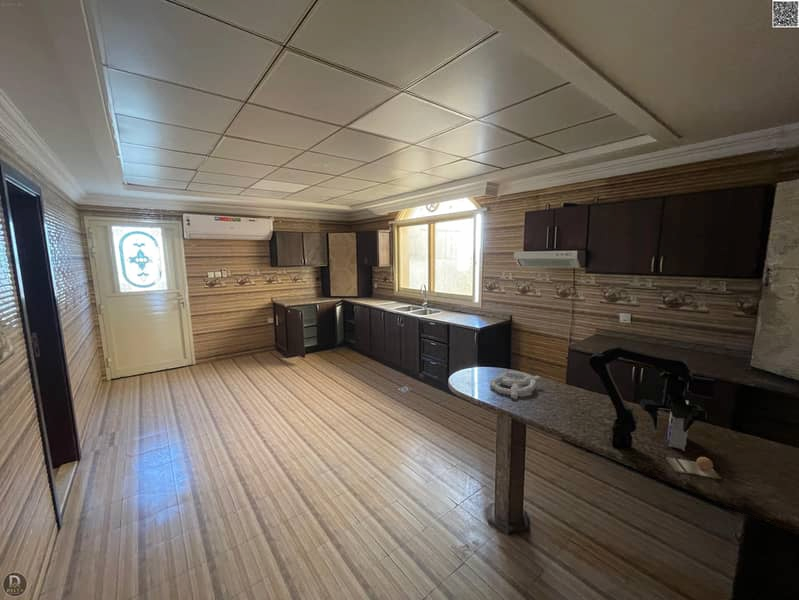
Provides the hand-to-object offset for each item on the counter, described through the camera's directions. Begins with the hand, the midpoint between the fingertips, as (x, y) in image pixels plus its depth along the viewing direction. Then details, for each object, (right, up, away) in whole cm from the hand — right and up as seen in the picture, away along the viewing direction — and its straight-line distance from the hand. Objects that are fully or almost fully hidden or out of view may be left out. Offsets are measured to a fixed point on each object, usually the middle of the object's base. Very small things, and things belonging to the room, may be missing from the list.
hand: (669, 429), depth 124 cm
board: (+5, -13, -4) cm, 14 cm away
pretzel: (-36, -3, +66) cm, 75 cm away
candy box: (+13, -10, +13) cm, 21 cm away
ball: (+8, -12, -5) cm, 16 cm away
